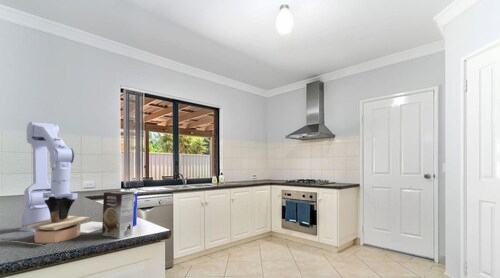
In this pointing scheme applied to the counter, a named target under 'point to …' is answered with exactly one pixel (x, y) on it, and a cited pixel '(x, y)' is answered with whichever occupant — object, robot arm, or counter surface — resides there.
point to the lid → (57, 222)
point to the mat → (90, 226)
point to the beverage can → (134, 207)
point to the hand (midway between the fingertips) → (58, 218)
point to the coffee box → (118, 214)
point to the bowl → (56, 234)
